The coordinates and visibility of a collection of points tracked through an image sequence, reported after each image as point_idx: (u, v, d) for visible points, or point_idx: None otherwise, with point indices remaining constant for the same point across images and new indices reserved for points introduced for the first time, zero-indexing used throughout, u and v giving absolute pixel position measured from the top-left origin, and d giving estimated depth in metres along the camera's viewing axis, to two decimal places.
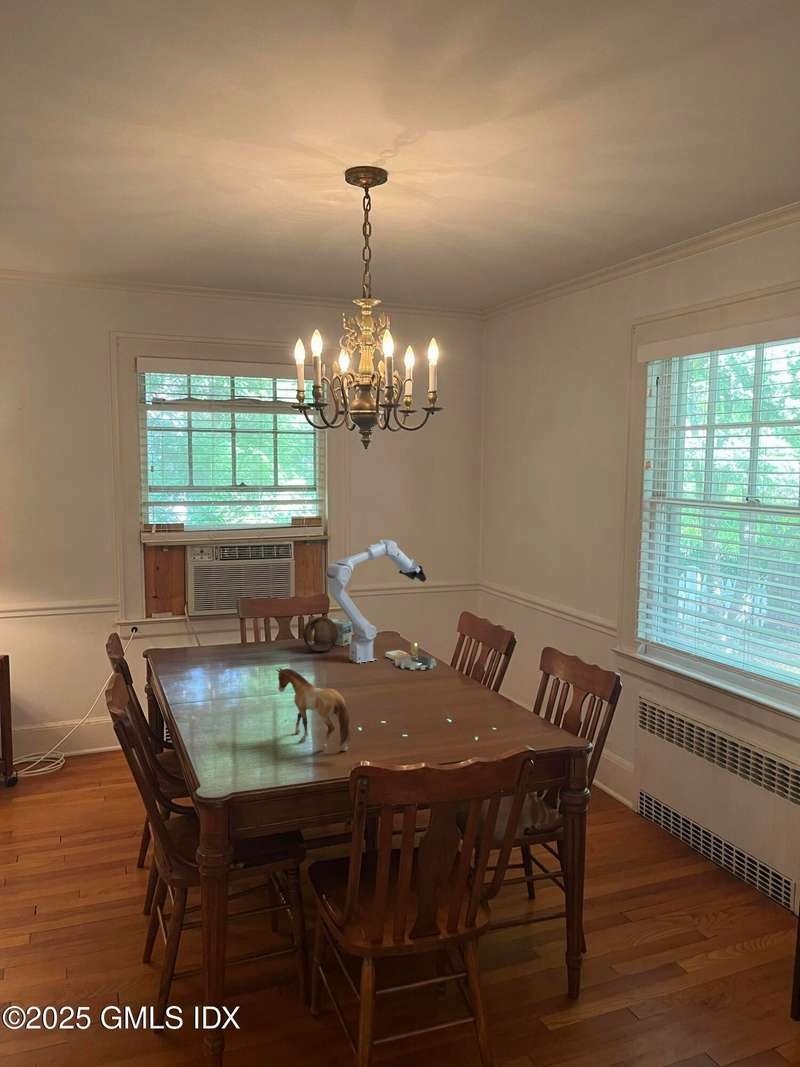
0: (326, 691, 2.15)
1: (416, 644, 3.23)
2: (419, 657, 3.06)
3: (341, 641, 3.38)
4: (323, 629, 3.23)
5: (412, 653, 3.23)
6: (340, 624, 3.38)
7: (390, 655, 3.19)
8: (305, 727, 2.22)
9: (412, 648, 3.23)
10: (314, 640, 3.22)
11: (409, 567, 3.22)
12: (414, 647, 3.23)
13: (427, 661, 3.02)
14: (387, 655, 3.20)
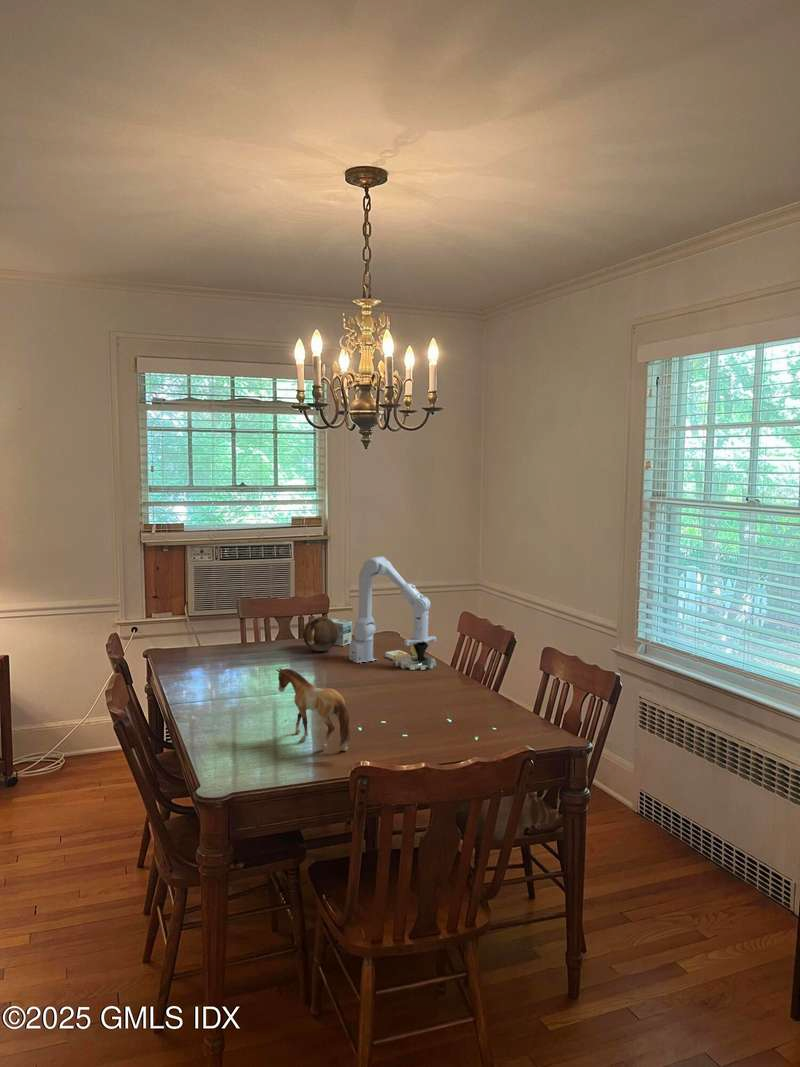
0: (326, 691, 2.15)
1: None
2: None
3: (341, 641, 3.38)
4: (323, 629, 3.23)
5: (412, 653, 3.23)
6: (340, 624, 3.38)
7: (390, 655, 3.19)
8: (305, 727, 2.22)
9: (412, 648, 3.23)
10: (314, 640, 3.22)
11: (414, 638, 3.03)
12: None
13: (427, 661, 3.02)
14: (387, 655, 3.20)
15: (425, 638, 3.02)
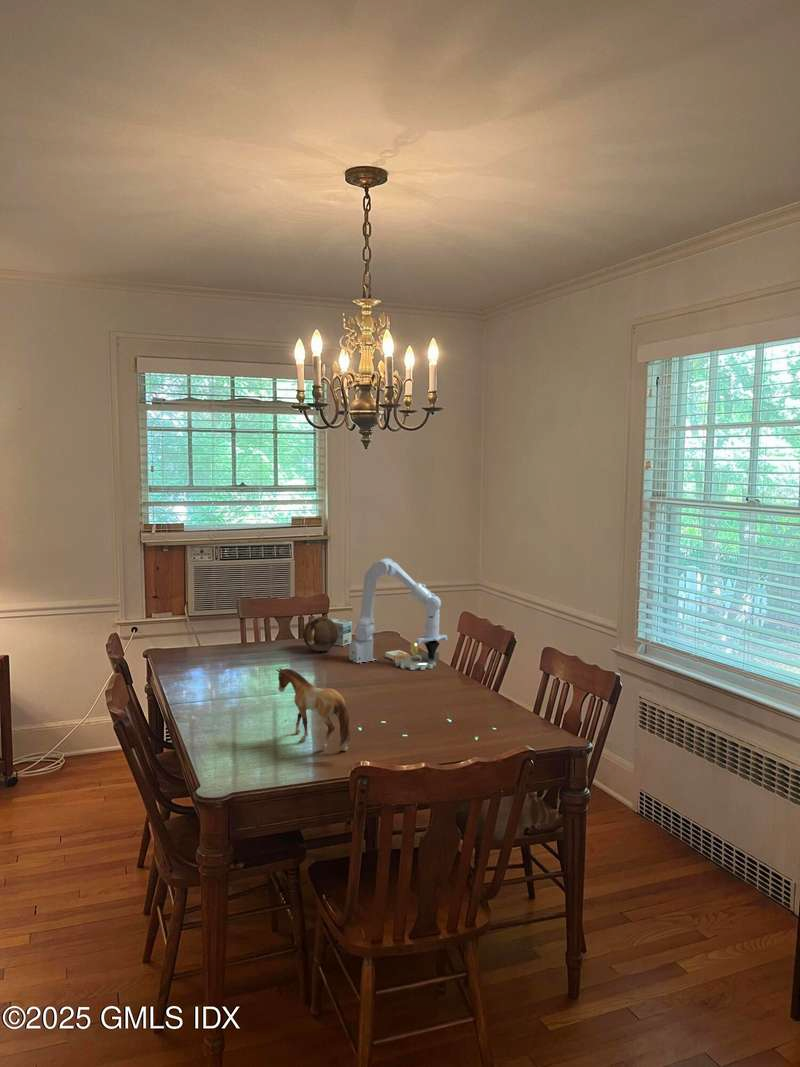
0: (326, 691, 2.15)
1: (416, 644, 3.23)
2: (424, 655, 3.09)
3: (341, 641, 3.38)
4: (323, 629, 3.23)
5: (412, 653, 3.23)
6: (340, 624, 3.38)
7: (390, 655, 3.19)
8: (305, 727, 2.22)
9: (412, 648, 3.23)
10: (314, 640, 3.22)
11: (425, 636, 3.06)
12: (414, 647, 3.23)
13: (437, 656, 3.10)
14: (387, 655, 3.20)
15: (436, 636, 3.05)
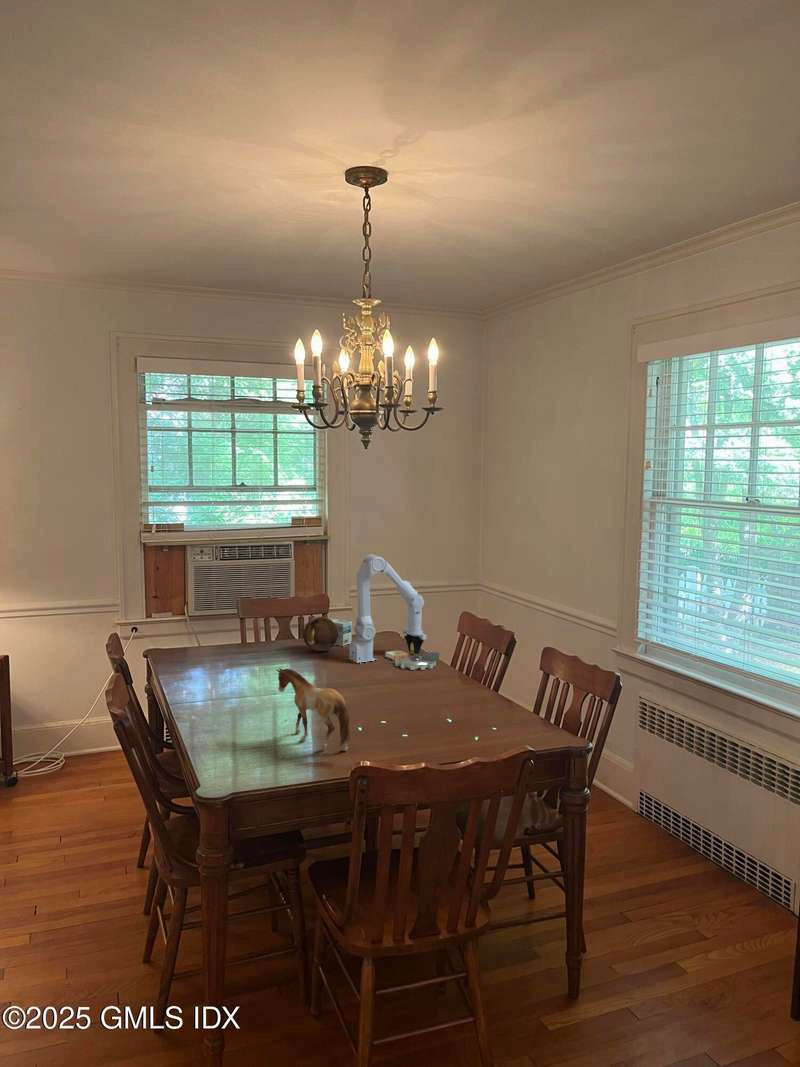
0: (326, 691, 2.15)
1: None
2: (424, 655, 3.09)
3: (341, 641, 3.38)
4: (323, 629, 3.23)
5: (412, 653, 3.23)
6: (340, 624, 3.38)
7: (390, 655, 3.19)
8: (305, 727, 2.22)
9: (412, 648, 3.23)
10: (314, 640, 3.22)
11: (417, 632, 3.21)
12: None
13: (437, 656, 3.10)
14: (387, 655, 3.20)
15: None
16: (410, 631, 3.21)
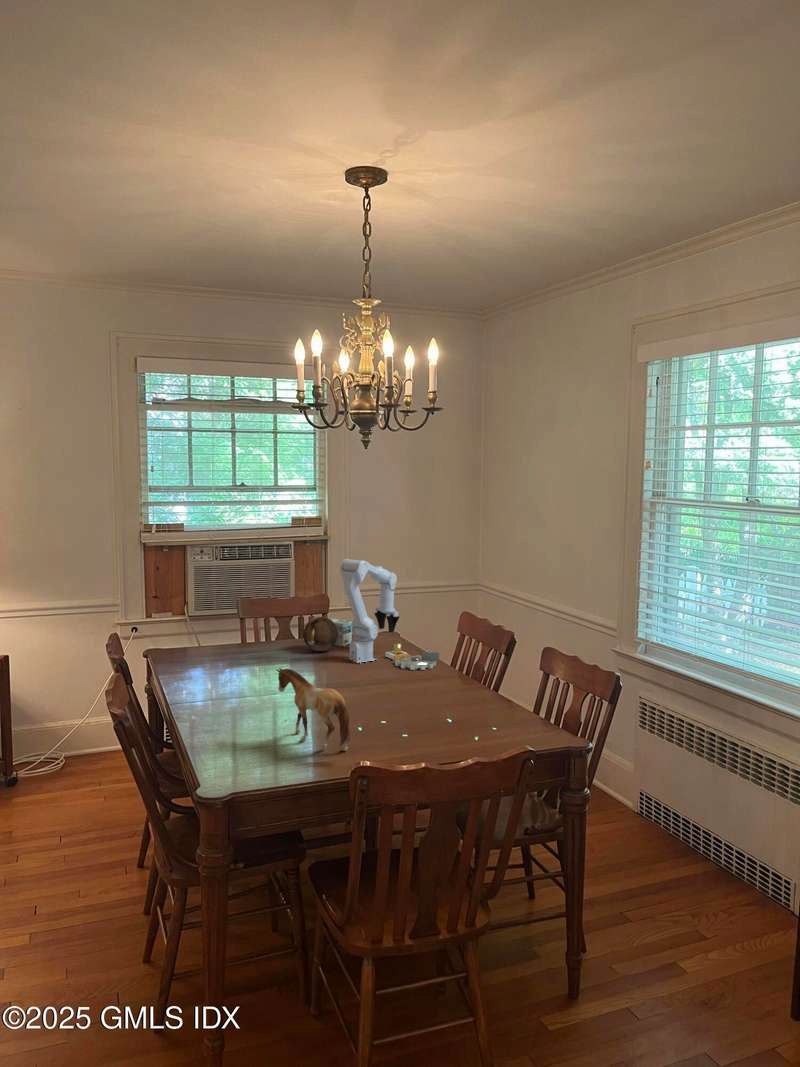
0: (326, 691, 2.15)
1: (399, 646, 3.19)
2: (424, 655, 3.09)
3: (341, 641, 3.38)
4: (323, 629, 3.23)
5: None
6: (340, 624, 3.38)
7: (390, 655, 3.19)
8: (305, 727, 2.22)
9: (395, 650, 3.19)
10: (314, 640, 3.22)
11: (389, 609, 3.25)
12: (397, 649, 3.19)
13: (437, 656, 3.10)
14: (387, 655, 3.20)
15: None
16: (382, 608, 3.25)
